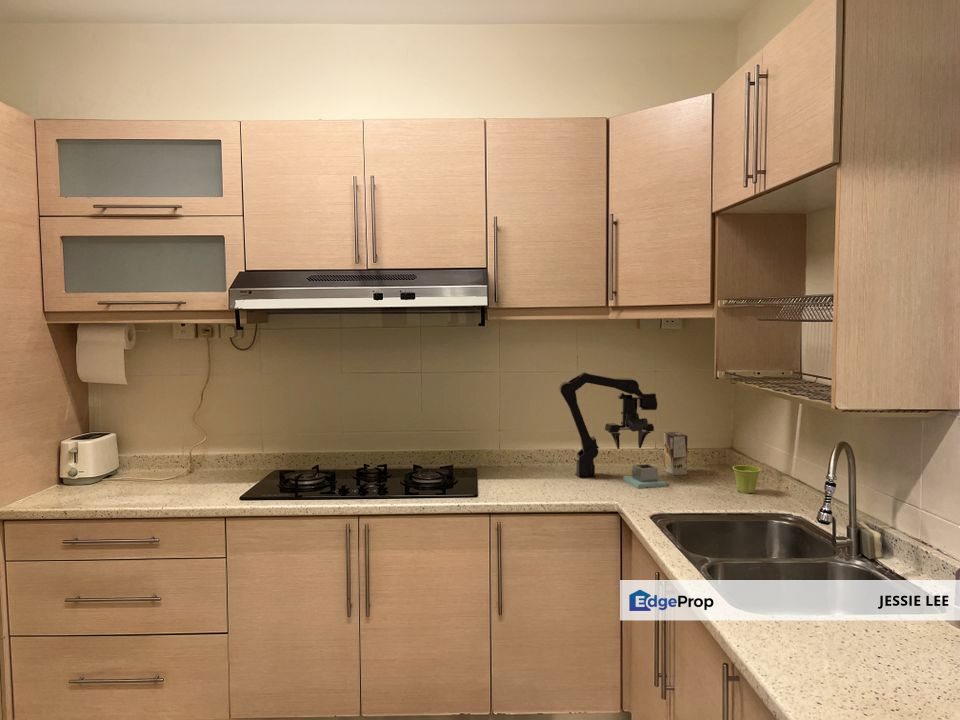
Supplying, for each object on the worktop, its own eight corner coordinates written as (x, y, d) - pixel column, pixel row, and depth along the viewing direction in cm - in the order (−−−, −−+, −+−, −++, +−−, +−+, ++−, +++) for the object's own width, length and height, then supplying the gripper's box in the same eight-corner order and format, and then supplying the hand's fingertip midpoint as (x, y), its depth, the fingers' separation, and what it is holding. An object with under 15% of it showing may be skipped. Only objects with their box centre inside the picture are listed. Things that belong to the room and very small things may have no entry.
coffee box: (687, 474, 253) (688, 435, 252) (673, 475, 252) (673, 436, 251) (676, 469, 262) (677, 431, 261) (662, 470, 261) (663, 432, 260)
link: (640, 482, 236) (640, 469, 236) (632, 477, 243) (632, 465, 243) (657, 480, 238) (657, 468, 238) (648, 476, 245) (648, 463, 245)
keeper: (637, 488, 234) (638, 473, 233) (623, 480, 245) (623, 466, 245) (666, 486, 236) (667, 471, 236) (651, 478, 248) (651, 464, 248)
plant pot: (757, 496, 222) (758, 472, 221) (729, 492, 227) (730, 469, 226) (762, 490, 229) (762, 467, 229) (734, 486, 235) (735, 464, 234)
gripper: (615, 413, 240) (615, 453, 241) (660, 412, 243) (659, 452, 245) (604, 409, 251) (604, 447, 252) (648, 408, 254) (647, 446, 255)
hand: (629, 448), depth 251 cm, fingers open, 9 cm apart
